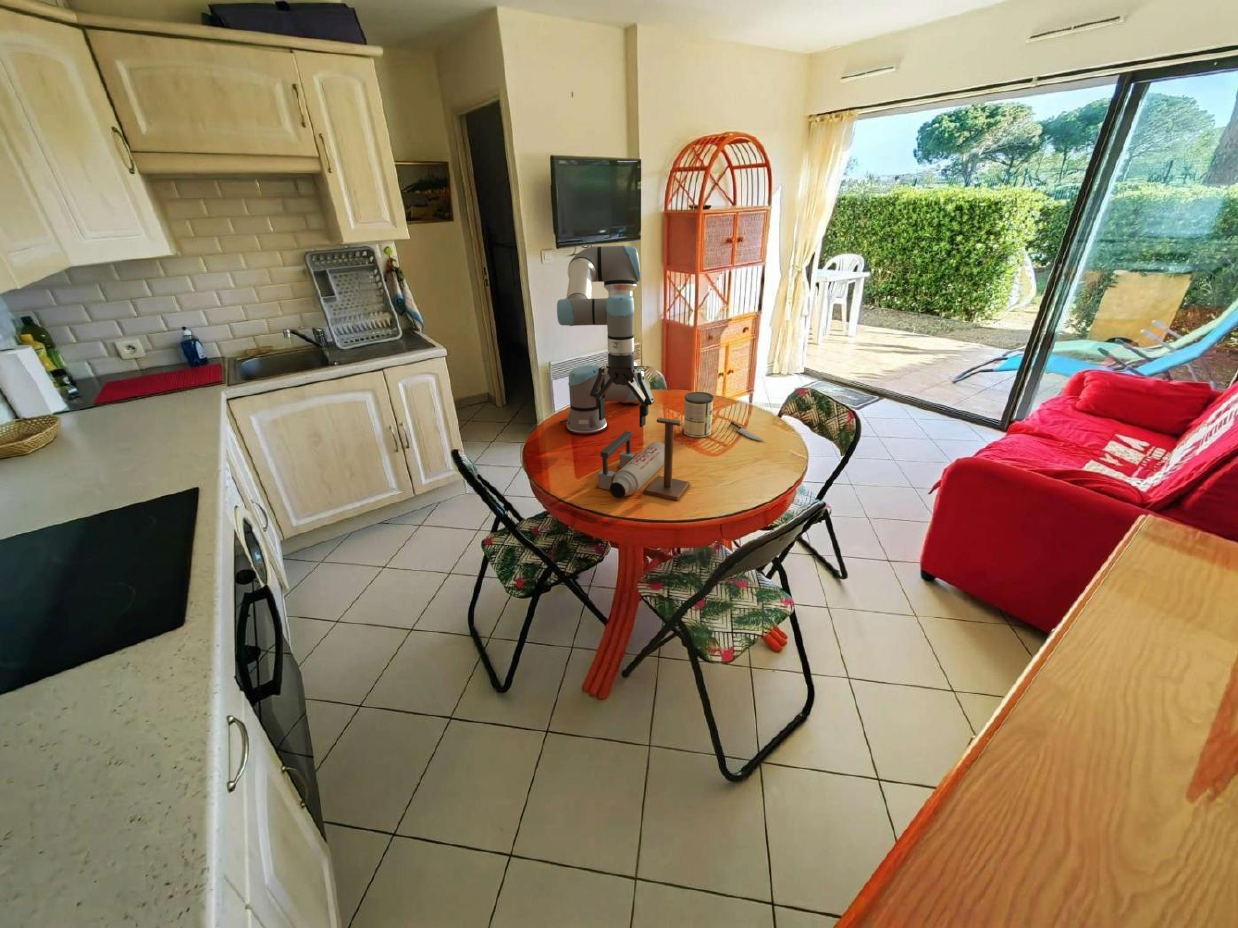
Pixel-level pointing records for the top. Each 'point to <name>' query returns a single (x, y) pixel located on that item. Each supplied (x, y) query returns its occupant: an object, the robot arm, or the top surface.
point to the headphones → (624, 457)
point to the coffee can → (698, 414)
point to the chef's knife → (746, 432)
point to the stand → (668, 468)
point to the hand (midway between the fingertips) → (622, 422)
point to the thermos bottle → (638, 471)
